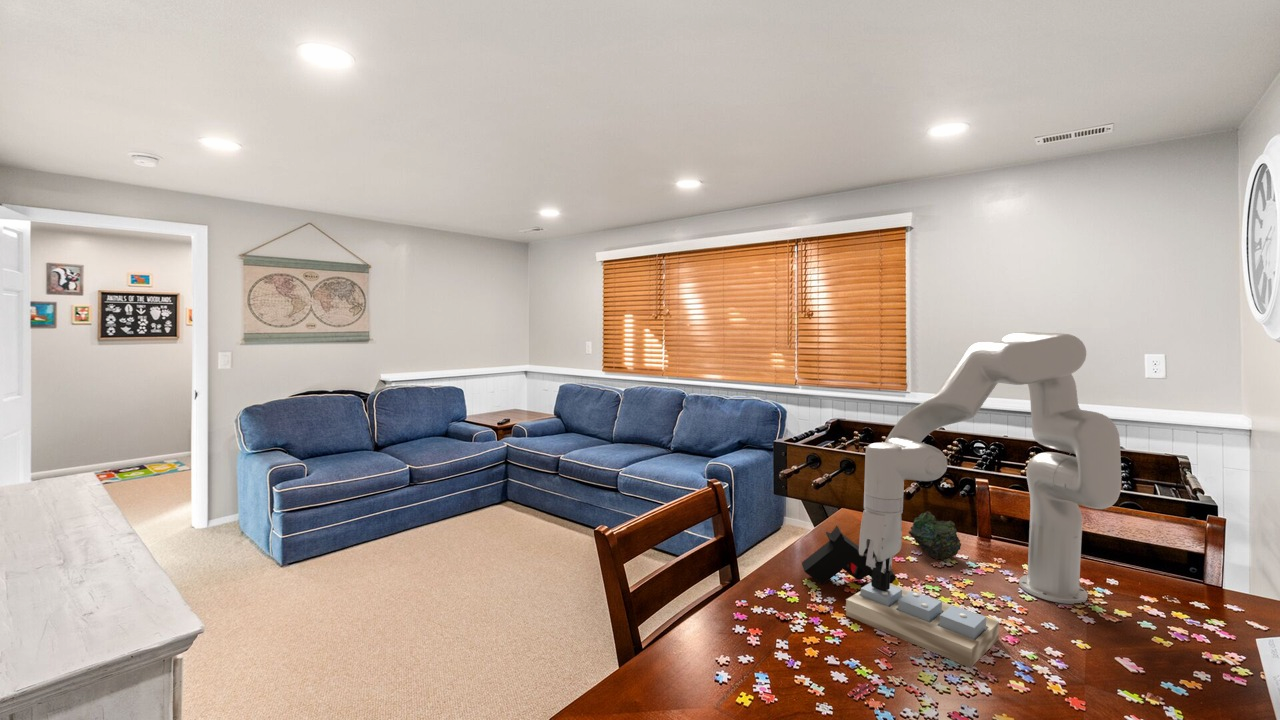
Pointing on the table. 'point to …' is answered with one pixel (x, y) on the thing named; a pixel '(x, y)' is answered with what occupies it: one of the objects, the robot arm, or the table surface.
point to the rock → (935, 536)
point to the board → (923, 629)
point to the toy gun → (839, 560)
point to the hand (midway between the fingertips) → (880, 587)
